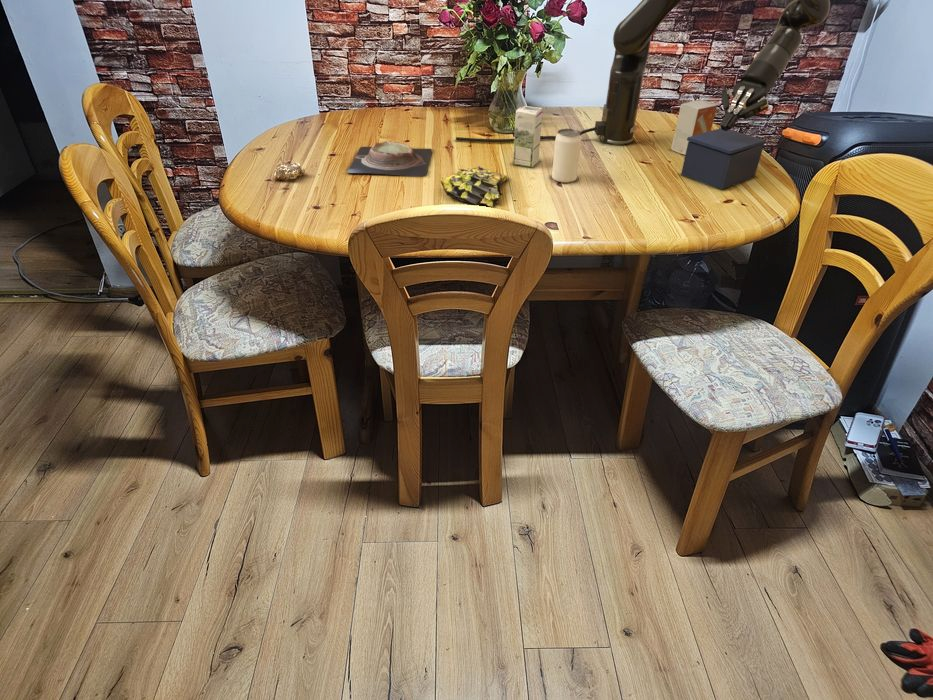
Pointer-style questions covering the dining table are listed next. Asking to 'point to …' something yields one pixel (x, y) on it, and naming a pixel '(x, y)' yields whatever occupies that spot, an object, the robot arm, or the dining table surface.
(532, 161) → the syrup box
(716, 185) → the case
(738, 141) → the case lid
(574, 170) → the can
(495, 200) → the banana patterned fabric
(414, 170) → the quiche
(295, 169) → the beige lumpy piece
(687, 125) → the small box
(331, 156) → the dining table surface
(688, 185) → the dining table surface
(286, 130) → the dining table surface
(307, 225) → the dining table surface
